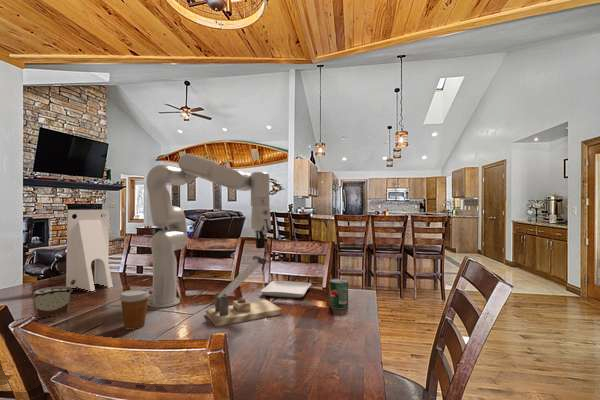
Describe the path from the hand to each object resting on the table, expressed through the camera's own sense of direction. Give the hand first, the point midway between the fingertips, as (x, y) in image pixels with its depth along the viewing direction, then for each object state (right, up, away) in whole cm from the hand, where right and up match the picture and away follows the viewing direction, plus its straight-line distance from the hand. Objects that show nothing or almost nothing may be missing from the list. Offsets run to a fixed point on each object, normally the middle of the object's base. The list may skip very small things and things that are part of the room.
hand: (260, 247), depth 131 cm
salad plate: (+10, -27, +29) cm, 41 cm away
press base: (-6, -26, -4) cm, 27 cm away
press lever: (-6, -12, -3) cm, 14 cm away
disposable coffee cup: (-42, -25, -17) cm, 52 cm away
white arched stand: (-89, -26, +36) cm, 100 cm away
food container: (-81, -25, -5) cm, 85 cm away
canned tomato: (+33, -26, +8) cm, 43 cm away
